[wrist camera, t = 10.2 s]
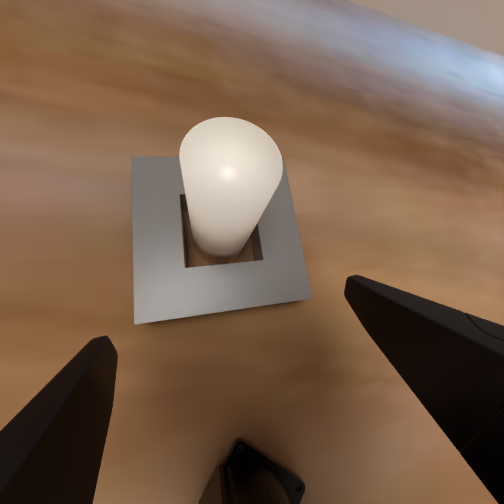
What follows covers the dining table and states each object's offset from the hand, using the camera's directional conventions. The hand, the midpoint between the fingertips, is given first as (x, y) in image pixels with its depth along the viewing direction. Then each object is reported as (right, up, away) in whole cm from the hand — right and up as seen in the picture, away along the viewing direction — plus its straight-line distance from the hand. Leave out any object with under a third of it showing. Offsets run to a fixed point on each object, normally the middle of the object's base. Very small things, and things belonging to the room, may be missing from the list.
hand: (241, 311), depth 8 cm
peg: (-3, +3, +14) cm, 15 cm away
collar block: (-3, +4, +14) cm, 15 cm away
